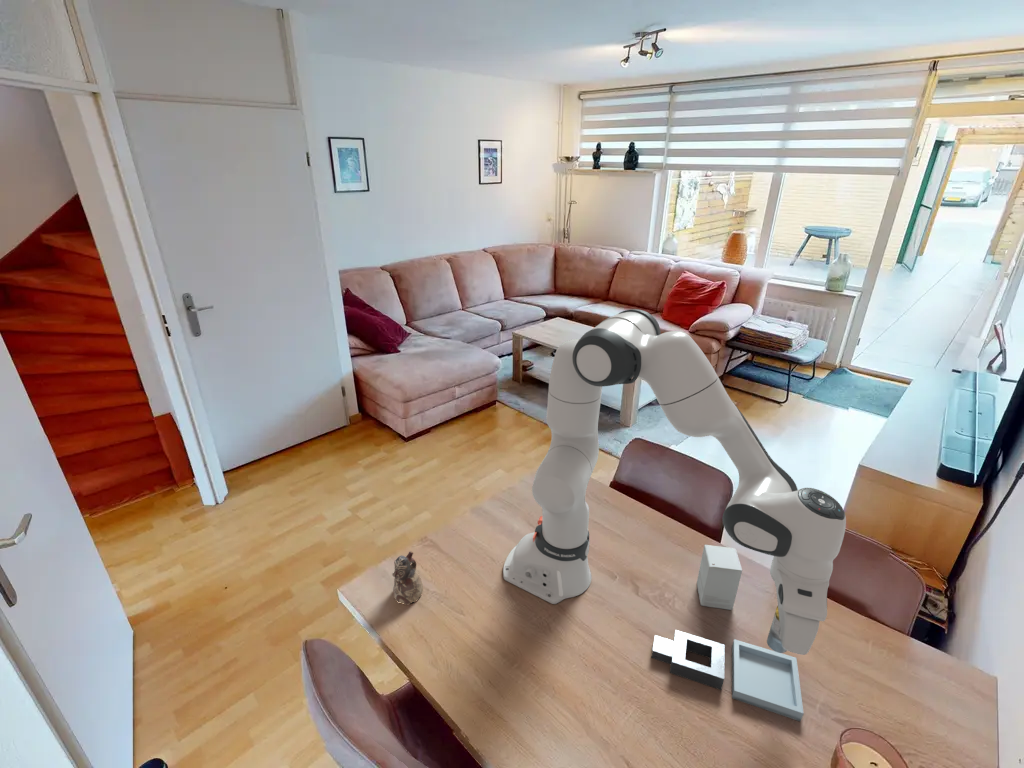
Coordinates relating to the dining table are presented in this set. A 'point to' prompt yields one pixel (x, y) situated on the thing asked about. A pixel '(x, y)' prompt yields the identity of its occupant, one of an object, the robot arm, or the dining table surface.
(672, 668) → the block
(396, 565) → the figurine
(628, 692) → the dining table surface
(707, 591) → the supplement box
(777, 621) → the small capped bottle
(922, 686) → the dining table surface
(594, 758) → the dining table surface
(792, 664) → the parts tray
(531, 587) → the robot arm
